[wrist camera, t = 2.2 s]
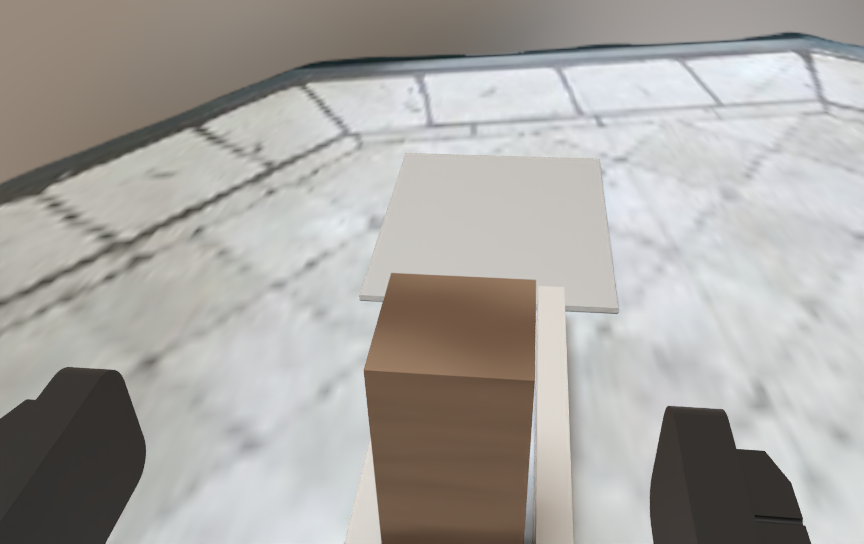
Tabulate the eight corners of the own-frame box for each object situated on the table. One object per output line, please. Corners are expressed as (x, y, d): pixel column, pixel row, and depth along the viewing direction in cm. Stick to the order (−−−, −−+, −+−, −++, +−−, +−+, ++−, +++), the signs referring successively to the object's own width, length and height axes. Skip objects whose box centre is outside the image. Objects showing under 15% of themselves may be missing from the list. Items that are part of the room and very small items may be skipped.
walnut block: (516, 644, 30) (534, 380, 22) (390, 631, 31) (363, 370, 23) (519, 535, 34) (536, 279, 26) (408, 526, 35) (391, 273, 27)
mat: (617, 313, 47) (618, 308, 47) (359, 299, 49) (359, 295, 49) (598, 163, 63) (599, 158, 63) (405, 157, 65) (405, 153, 65)
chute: (574, 793, 26) (581, 759, 24) (307, 761, 27) (298, 727, 25) (561, 320, 47) (564, 287, 45) (410, 312, 48) (408, 279, 46)
